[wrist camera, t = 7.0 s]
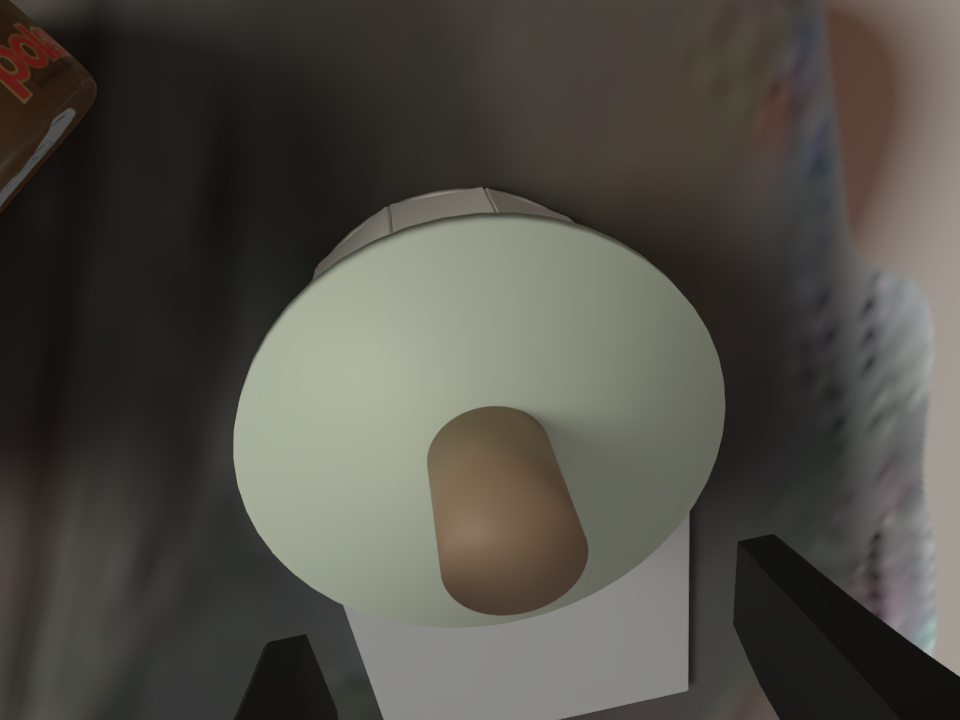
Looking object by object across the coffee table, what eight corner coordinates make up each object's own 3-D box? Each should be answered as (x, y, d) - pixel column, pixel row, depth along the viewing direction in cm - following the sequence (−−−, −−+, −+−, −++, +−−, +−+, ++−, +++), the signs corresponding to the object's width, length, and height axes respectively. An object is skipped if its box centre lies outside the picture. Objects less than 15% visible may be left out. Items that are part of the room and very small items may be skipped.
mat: (684, 681, 30) (688, 690, 29) (396, 745, 29) (396, 755, 29) (685, 452, 23) (689, 460, 23) (319, 528, 23) (319, 536, 22)
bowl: (622, 437, 23) (675, 536, 19) (343, 494, 22) (339, 608, 19) (607, 157, 18) (673, 213, 14) (256, 222, 18) (227, 298, 14)
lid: (711, 559, 20) (780, 680, 16) (314, 647, 19) (305, 790, 16) (718, 163, 14) (825, 227, 11) (157, 273, 14) (93, 376, 10)
